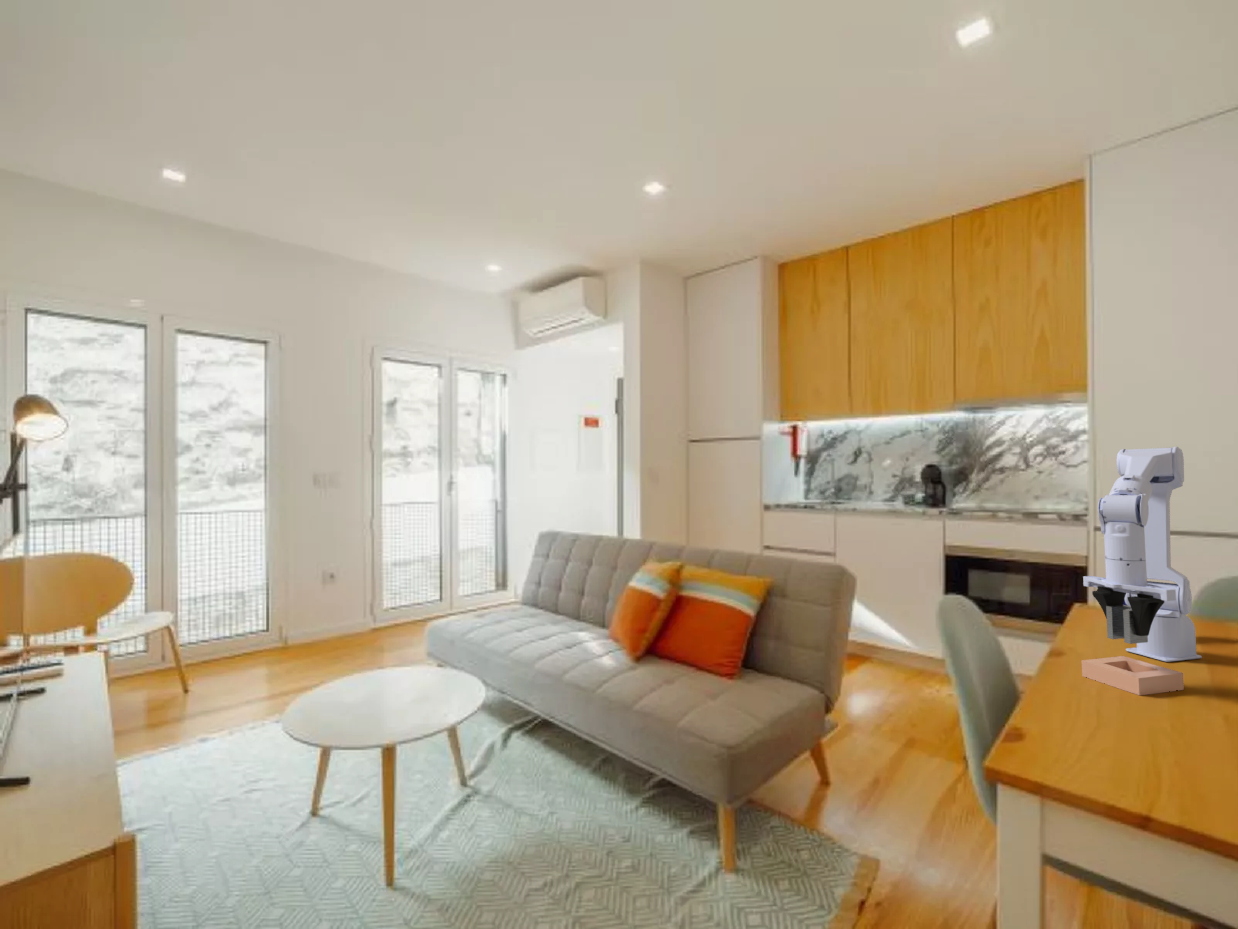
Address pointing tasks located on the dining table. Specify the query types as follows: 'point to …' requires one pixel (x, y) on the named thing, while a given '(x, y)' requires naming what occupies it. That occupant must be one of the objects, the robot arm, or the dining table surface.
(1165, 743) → the dining table surface
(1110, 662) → the well
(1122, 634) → the bracket
